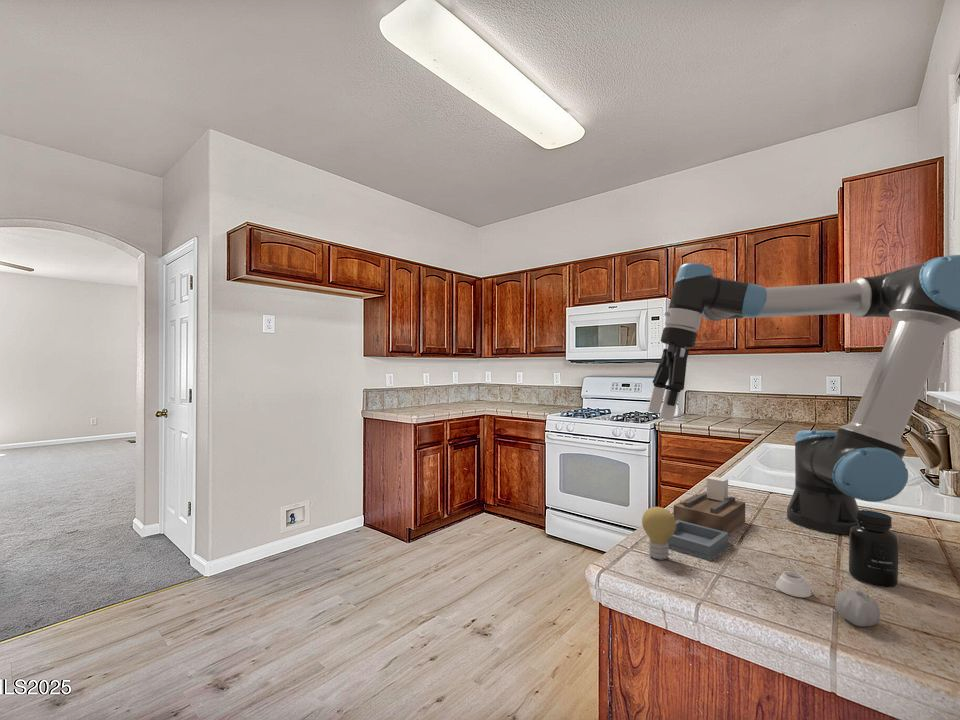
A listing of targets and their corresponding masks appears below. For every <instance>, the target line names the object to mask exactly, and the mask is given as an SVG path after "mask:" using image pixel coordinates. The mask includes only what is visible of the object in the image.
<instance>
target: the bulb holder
mask: <svg viewBox="0 0 960 720" xmlns="http://www.w3.org/2000/svg"><path fill="white" fill-rule="evenodd" d="M729 535H730V534H729V533H727V532H723V531H719V530H716V529H712V528H708V527H704V526H700V525H696V524H692V523H688V522H684V521H680V520H676V529H675V532H674V534H673V535H672V536H671V538H670V539H669V540H668V541H667V542H668V543H669V547H668V548H669V550H670V549H671V550H674V551H677V552H679V553H683V554H687V555H690V554H691V555H690V556H693V555H694V557H696V556H697V557H696V558H699V557H700V559H703V560H707V561H710V562H713V560H716V558H717V557H718V556H720V555H722V554H723V553H724V552H725V551H726V550H728V549H729V548H730V547H731V546H732V545H733V542H732V541H730V540H729V539H730V538H729V537H730V536H729Z"/></svg>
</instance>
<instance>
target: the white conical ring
mask: <svg viewBox="0 0 960 720" xmlns="http://www.w3.org/2000/svg"><path fill="white" fill-rule="evenodd" d="M775 587H776V589H777V590H779V591H780V592H782V593H784V594H786V595H788V596H792V597H795V598H808V597H811V596H812V590H811V588H810V586H809V584H808V582H807V580H805V577H804V575H802V574H800V573H798V572H796V571H792V570H791V571H790V570H785V571H782V574H781V575H780V576H779V578H778V579H777V580H776V583H775Z"/></svg>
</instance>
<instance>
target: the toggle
mask: <svg viewBox="0 0 960 720" xmlns="http://www.w3.org/2000/svg"><path fill="white" fill-rule="evenodd" d="M706 491H707V498H709V499H714V500H719V501H724V500H725V499H727V498H729V479H727V478H723V477H718V476H712V475H711V476H708V477H707V478H706Z"/></svg>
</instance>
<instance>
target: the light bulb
mask: <svg viewBox="0 0 960 720" xmlns="http://www.w3.org/2000/svg"><path fill="white" fill-rule="evenodd" d="M641 524H642V528H643V530H644V532H645V534H646V535H647V536H648V538H649V539H648V554H649V556H650V557H652V558H654V559H655V560H661V561H662V560H666V559H667V558H668V557H669V556H670V554H669V550H670V548H668V547H669V543H668V542H667V541H668V540H669V539H670V538H671V536H672V535H673V534H674V532H675V529H676V521H675V518H674V514H672V512H671V511H669V510H668V509H667V508H664V507H660V506H653V507H650V508H647V509H645V511H644V512H643V515H642V518H641Z"/></svg>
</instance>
